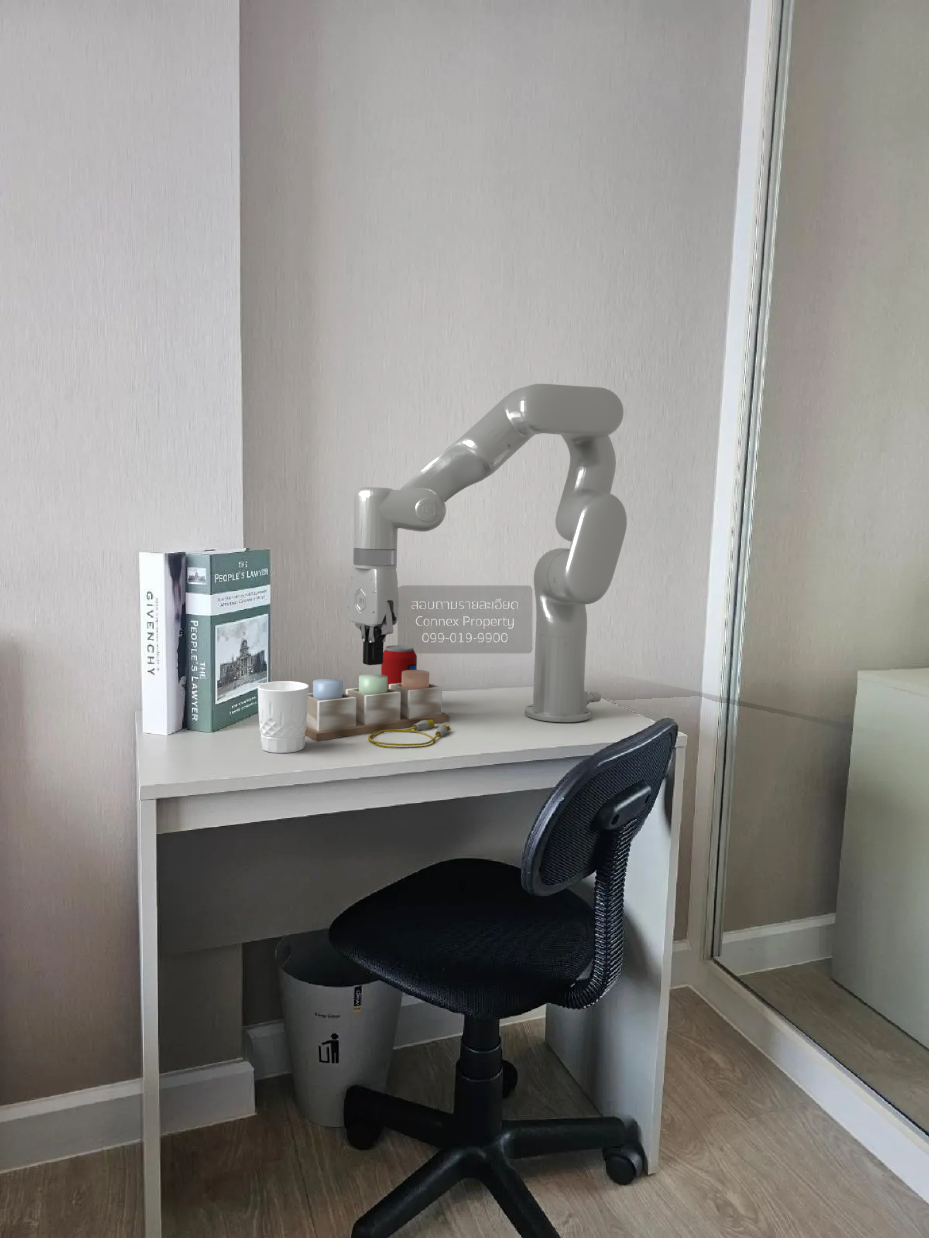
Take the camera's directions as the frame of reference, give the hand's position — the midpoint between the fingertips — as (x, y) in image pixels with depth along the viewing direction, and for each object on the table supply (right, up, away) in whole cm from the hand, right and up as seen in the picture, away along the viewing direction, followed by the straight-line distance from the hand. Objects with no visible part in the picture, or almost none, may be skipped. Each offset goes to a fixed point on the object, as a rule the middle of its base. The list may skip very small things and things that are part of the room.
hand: (372, 663), depth 157 cm
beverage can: (+3, -10, +15) cm, 18 cm away
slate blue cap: (-7, -8, -5) cm, 11 cm away
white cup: (-13, -13, -15) cm, 24 cm away
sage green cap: (0, -7, +1) cm, 7 cm away
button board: (0, -11, +1) cm, 11 cm away
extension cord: (+7, -13, -7) cm, 16 cm away
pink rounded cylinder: (+7, -7, +6) cm, 12 cm away
